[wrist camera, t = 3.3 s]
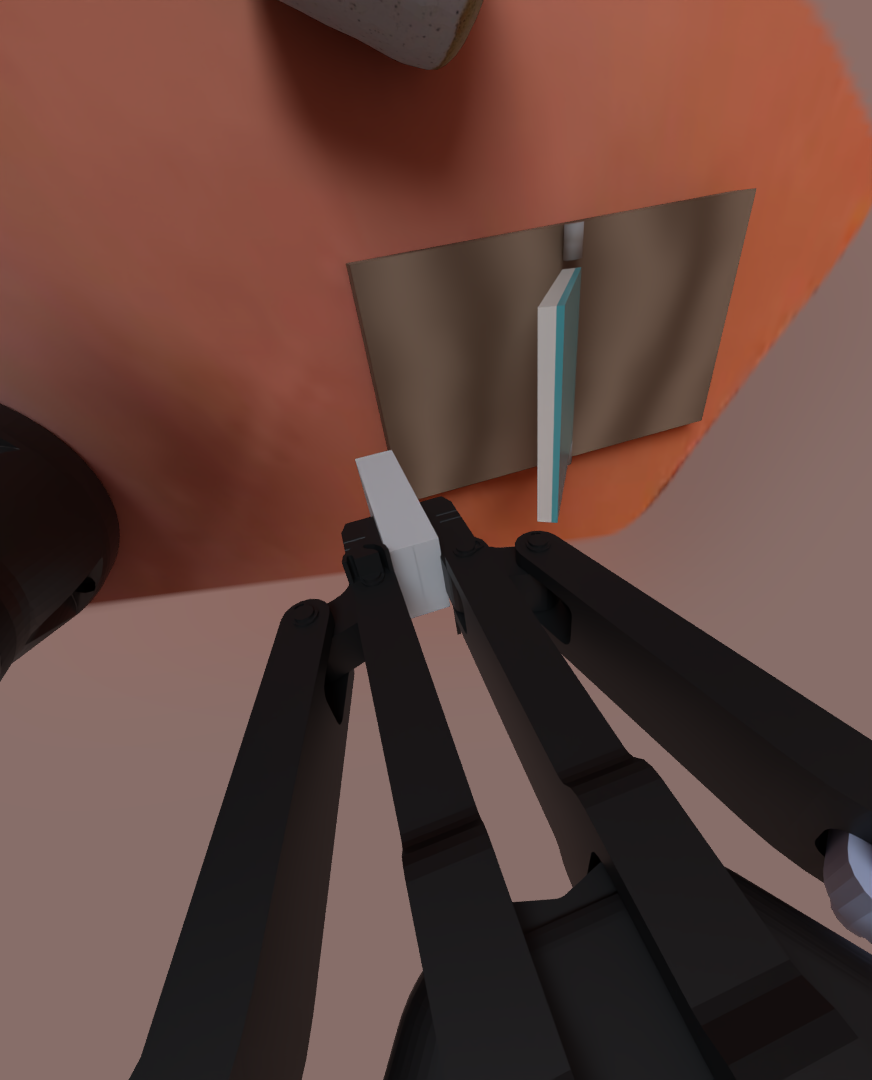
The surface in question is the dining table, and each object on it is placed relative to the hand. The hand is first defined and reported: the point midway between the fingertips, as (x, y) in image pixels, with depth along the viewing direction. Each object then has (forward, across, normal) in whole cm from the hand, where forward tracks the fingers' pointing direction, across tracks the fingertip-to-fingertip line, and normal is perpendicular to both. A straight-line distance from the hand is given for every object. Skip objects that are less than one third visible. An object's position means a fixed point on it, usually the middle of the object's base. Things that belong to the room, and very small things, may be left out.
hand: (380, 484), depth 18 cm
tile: (+5, +10, 0) cm, 11 cm away
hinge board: (+11, +14, 0) cm, 18 cm away
